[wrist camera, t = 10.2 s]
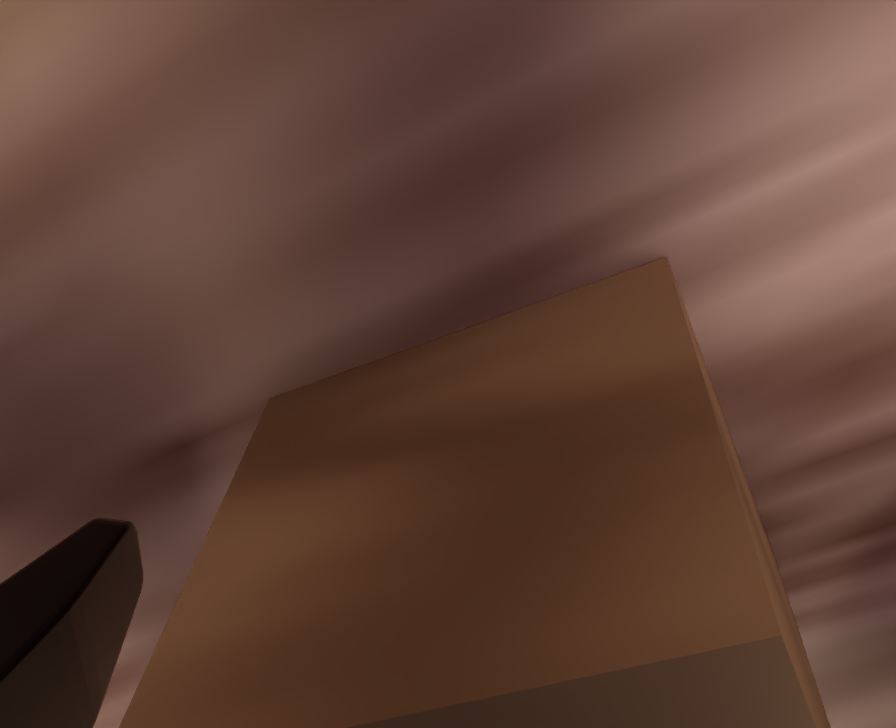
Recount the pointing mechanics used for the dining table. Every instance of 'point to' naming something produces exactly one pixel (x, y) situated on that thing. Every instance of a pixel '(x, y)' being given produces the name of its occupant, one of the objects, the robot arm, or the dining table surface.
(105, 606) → the robot arm
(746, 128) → the dining table surface
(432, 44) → the dining table surface
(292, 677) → the walnut cube
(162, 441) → the dining table surface
